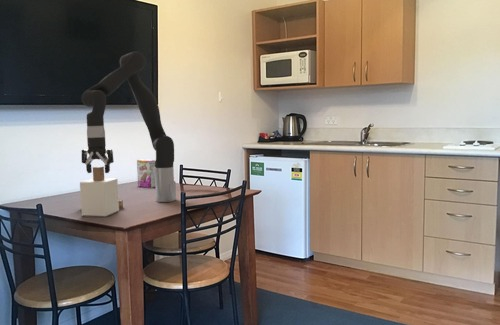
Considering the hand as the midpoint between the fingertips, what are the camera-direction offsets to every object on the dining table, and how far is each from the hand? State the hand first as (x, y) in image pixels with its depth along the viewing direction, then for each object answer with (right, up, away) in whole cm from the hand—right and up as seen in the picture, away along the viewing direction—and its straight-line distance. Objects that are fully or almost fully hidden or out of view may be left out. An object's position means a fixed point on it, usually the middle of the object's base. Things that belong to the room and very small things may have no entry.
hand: (98, 172), depth 205 cm
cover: (0, -18, +2) cm, 18 cm away
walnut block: (+5, -17, +13) cm, 22 cm away
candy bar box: (+5, -10, +75) cm, 76 cm away
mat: (0, -18, +2) cm, 19 cm away
